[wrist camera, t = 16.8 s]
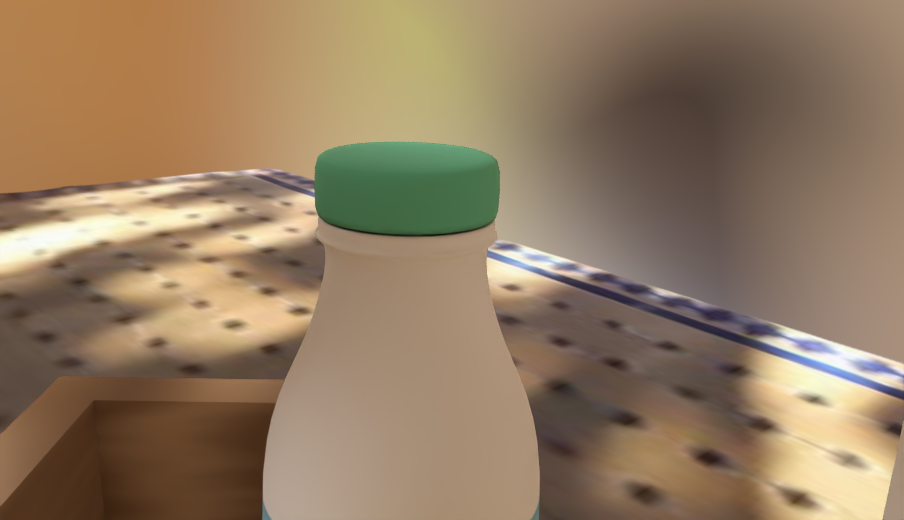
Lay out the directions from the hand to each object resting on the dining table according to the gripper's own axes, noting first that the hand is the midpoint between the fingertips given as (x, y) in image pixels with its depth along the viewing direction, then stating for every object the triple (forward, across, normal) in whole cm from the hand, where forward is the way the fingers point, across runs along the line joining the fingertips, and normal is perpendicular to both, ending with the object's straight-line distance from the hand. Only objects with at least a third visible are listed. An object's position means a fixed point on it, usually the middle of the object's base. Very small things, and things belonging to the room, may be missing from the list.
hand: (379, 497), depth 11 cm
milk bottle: (+11, 0, -18) cm, 21 cm away
